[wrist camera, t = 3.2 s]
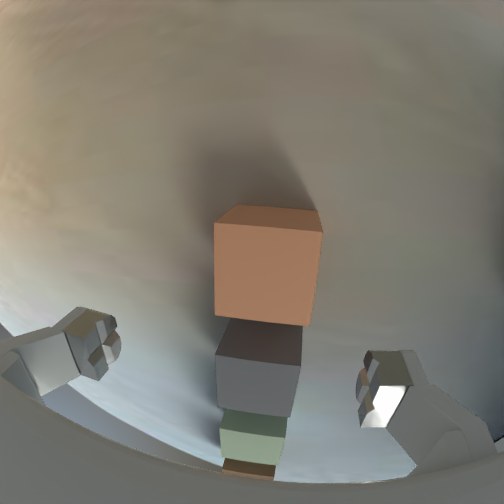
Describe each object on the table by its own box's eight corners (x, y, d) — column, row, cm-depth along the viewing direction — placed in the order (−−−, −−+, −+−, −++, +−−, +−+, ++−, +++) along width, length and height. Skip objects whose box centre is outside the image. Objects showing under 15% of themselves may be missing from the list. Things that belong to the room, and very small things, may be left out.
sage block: (283, 424, 24) (278, 465, 20) (233, 417, 25) (221, 456, 20) (290, 392, 23) (285, 437, 18) (233, 385, 23) (219, 428, 19)
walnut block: (275, 459, 27) (269, 493, 22) (233, 453, 28) (223, 486, 23) (279, 438, 25) (274, 477, 21) (232, 432, 26) (221, 469, 21)
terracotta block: (308, 284, 19) (309, 326, 14) (235, 277, 20) (214, 315, 15) (317, 210, 17) (322, 232, 13) (237, 204, 18) (214, 222, 13)
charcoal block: (294, 370, 22) (289, 417, 17) (233, 362, 22) (217, 407, 18) (302, 319, 20) (300, 366, 15) (233, 312, 21) (214, 354, 16)
